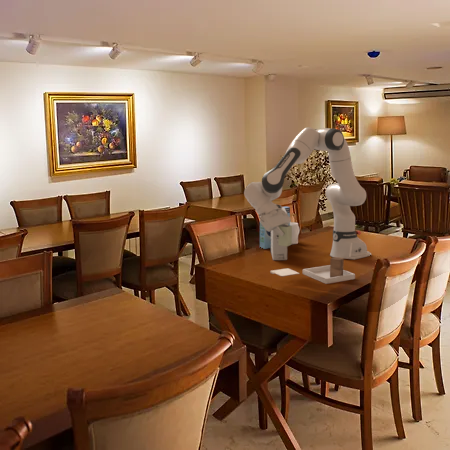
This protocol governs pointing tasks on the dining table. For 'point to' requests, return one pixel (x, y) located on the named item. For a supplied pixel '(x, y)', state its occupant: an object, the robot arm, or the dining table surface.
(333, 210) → the robot arm
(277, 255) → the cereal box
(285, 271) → the pad
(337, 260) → the walnut box
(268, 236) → the light blue carton
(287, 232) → the sage box
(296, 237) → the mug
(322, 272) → the white tray
